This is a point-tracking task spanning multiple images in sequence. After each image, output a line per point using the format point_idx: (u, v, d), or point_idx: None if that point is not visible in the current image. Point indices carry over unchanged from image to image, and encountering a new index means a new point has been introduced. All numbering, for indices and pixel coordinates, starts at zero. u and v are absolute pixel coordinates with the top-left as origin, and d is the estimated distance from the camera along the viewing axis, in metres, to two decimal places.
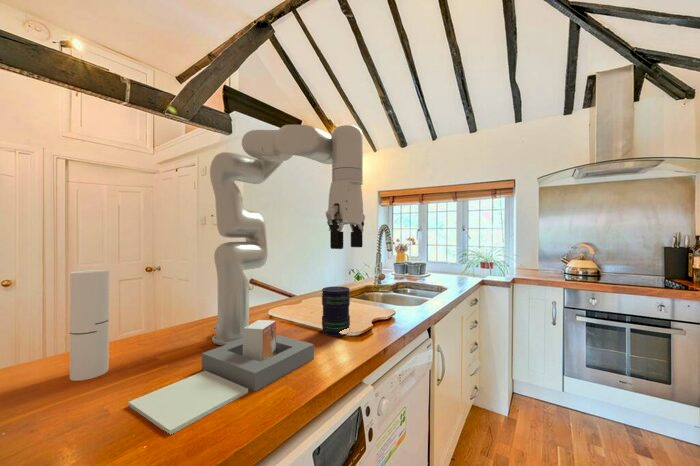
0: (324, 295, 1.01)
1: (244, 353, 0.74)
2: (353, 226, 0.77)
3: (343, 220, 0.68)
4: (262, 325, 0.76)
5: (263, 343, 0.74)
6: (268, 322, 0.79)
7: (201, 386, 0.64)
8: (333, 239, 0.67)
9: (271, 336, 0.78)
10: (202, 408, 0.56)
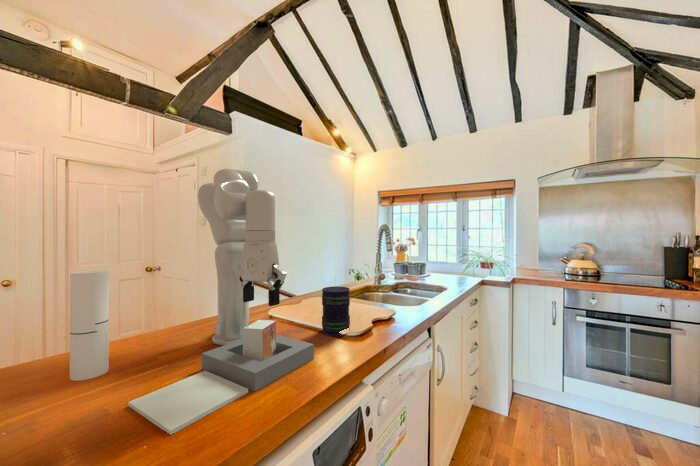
0: (324, 295, 1.01)
1: (244, 353, 0.74)
2: None
3: (278, 278, 0.76)
4: (262, 325, 0.76)
5: (263, 343, 0.74)
6: (268, 322, 0.79)
7: (201, 386, 0.64)
8: (275, 297, 0.74)
9: (271, 336, 0.78)
10: (202, 408, 0.56)
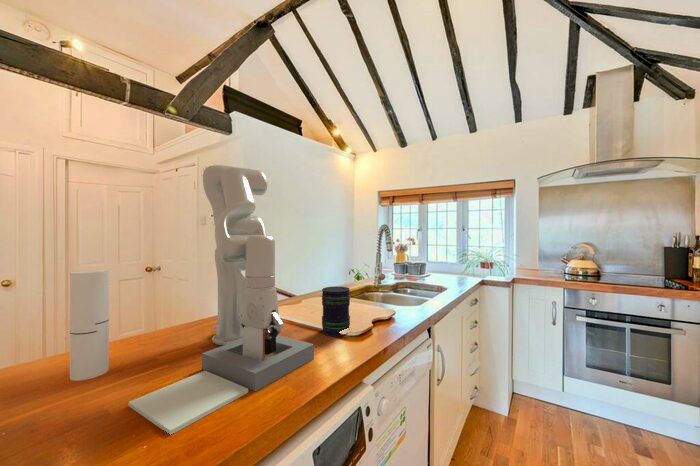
0: (324, 295, 1.01)
1: (244, 353, 0.74)
2: None
3: None
4: None
5: (263, 343, 0.74)
6: None
7: (201, 386, 0.64)
8: (272, 345, 0.75)
9: None
10: (202, 408, 0.56)
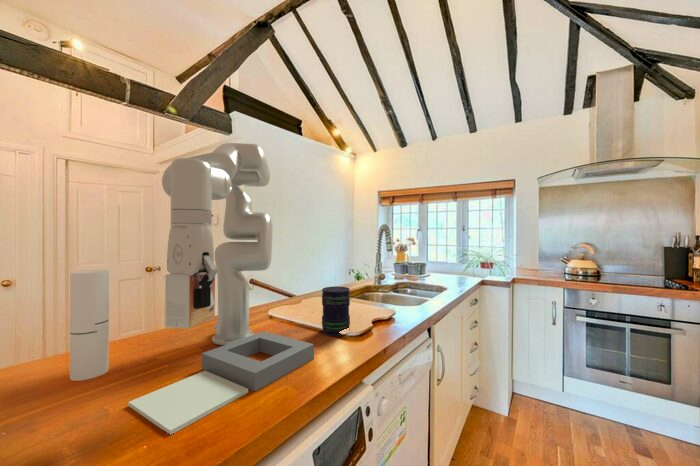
0: (324, 295, 1.01)
1: (167, 306, 0.58)
2: None
3: None
4: None
5: (190, 294, 0.57)
6: None
7: (201, 386, 0.64)
8: (203, 297, 0.58)
9: None
10: (202, 408, 0.56)
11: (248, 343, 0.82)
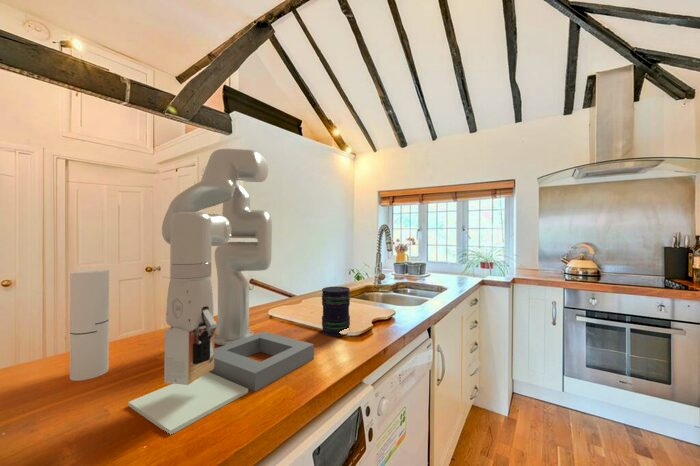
0: (324, 295, 1.01)
1: (166, 362, 0.58)
2: None
3: None
4: None
5: (189, 349, 0.57)
6: None
7: (201, 386, 0.64)
8: (203, 352, 0.58)
9: None
10: (202, 408, 0.56)
11: (248, 343, 0.82)
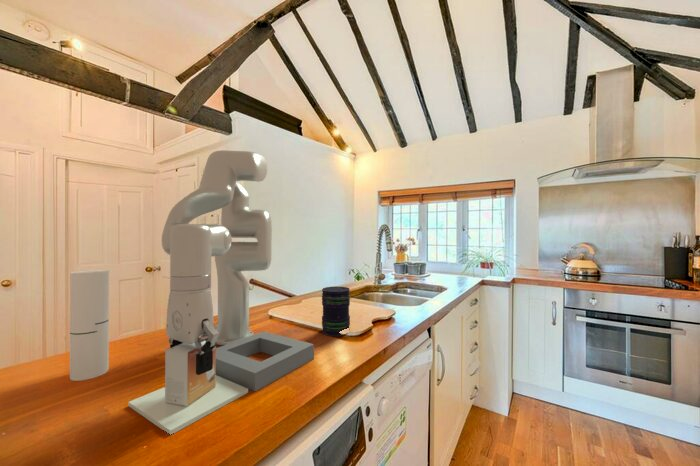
0: (324, 295, 1.01)
1: (166, 382, 0.58)
2: None
3: None
4: (192, 346, 0.60)
5: (188, 370, 0.57)
6: (203, 341, 0.62)
7: None
8: (205, 362, 0.58)
9: None
10: (202, 408, 0.56)
11: (248, 343, 0.82)
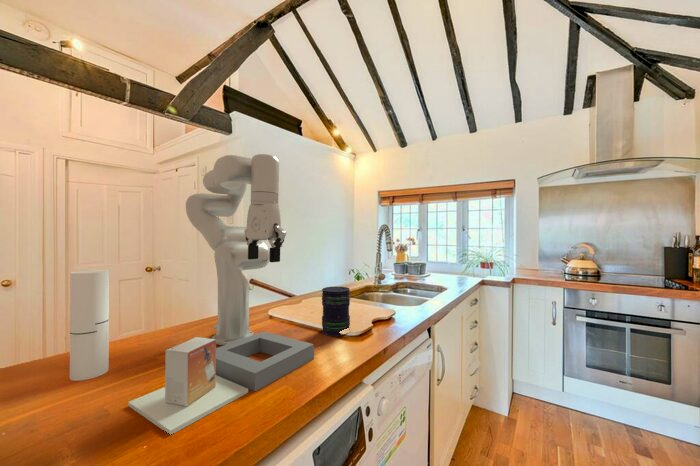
0: (324, 295, 1.01)
1: (167, 382, 0.58)
2: None
3: None
4: (192, 346, 0.60)
5: (188, 371, 0.57)
6: (204, 341, 0.62)
7: None
8: (276, 254, 0.79)
9: (206, 359, 0.61)
10: (202, 408, 0.56)
11: (248, 343, 0.82)
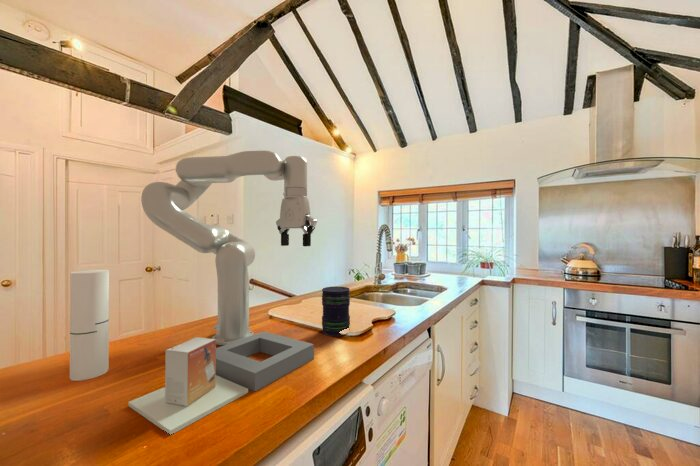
0: (324, 295, 1.01)
1: (167, 382, 0.58)
2: None
3: (309, 226, 0.97)
4: (192, 346, 0.60)
5: (188, 371, 0.57)
6: (204, 341, 0.62)
7: None
8: (308, 239, 0.94)
9: (206, 359, 0.61)
10: (202, 408, 0.56)
11: (248, 343, 0.82)
